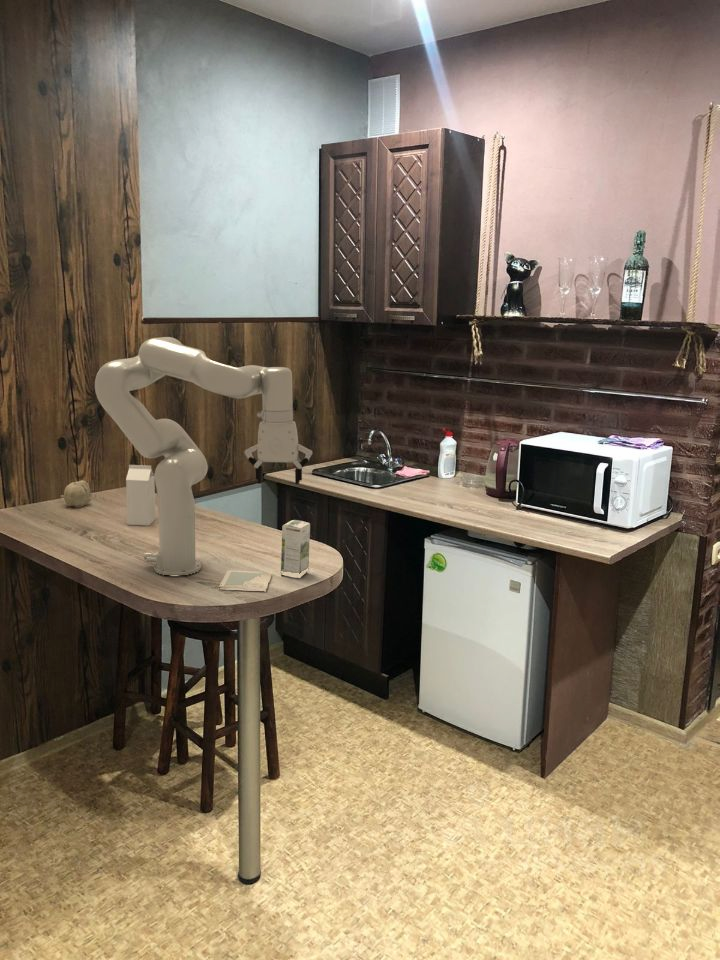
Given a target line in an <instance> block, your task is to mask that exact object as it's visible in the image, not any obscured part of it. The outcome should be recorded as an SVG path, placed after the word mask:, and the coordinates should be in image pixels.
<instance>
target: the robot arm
mask: <svg viewBox="0 0 720 960" xmlns="http://www.w3.org/2000/svg"><path fill="white" fill-rule="evenodd" d="M165 376H169V377H173V378H176V379H179V380H183V381H185V382H186V381H187V382H190V383H193V384H194V385H196V386H199V387H200V388H202V389H204V390H206V391H209V392H212V393H215V394H218V395H221V396H224V397H228V398H233V399H245V398H248V397H251V396H257V395H260V394H261V396H262V410H261V411H257V412H256V418H261V419H262V421H260V422H259V425H258V431H257V443H256V444H255V445H253V446H251V447H248V448H247V449H245V450H244V455H245V456H246V458H247V460H248V462H249V463H250V464H251V465H252V466H253V467H254V469H255V480H256V481H257V484H261V483H263V482H264V477H263V475H264V474H263V472H264V471H263V466H262V464H263V463H293V465H295V467H296V468H295V469H294V473H295V475H294V476H295V477H294V479H295V480H294V482H295V485H299V484H300V481H301V482H302V480H303V468H304V466H305V465H306V464H308V462H309V461H310V458H311V457H312V455H313V450H312V449H309V448H307V447H305V446H303V445H302V444H300V443H299V436H298V429H297V424H296V421H294V417H293V416H294V415H293V413H294V412H293V372H292V370H291V369H290V368H288V367H286V366H285V367H283V366H271V367H267V366H260V365H255V364H254V365H253V364H250V365H244V366H241V367H240V366H239V367H236V366H235V367H234V366H232V365H228V364H224V363H221V362H217V361H214V360H211V359H210V358H208V357H207V355H206V352H205V351H203V350H201V349H199V348H196V347H195V348H194V347H192V346H191V347H190V346H187V345H185V344H183V343H182V342H181V341H180V340H178V339H176V338H174V337H171V336H163V337H153V338H149V339H147V340H145V341H144V342H143V343H142V344H141V345H140V347H139V349H138V354H137V355H136V356H134V357H129V358H119V359H114V360H111V361H107V362H106V363H105V364H103V365H101V367H100V368H99V370H98V371H97V373H96V376H95V380H94V390H95V395H96V398H97V400H98V402H99V404H100V406H102V408H103V410H104V411H105V412H106V413H107V414H108V415H109V416H110V417H111V419H112V420H113V421H114V422H115V424H116V425H117V426H118V427H119V429H120V430H121V432H122V433H123V434H124V435H125V437H126V438H127V439H128V441H129V442H130V443H131V444H132V446H134V448H135V450H136V451H137V452H138V453H139V454H140V455H141V456H143V458H146V459H156V458H159V457H164V458H163V459H162V460H161V461H160V462H159V463H158V464H157V466H156V468H155V471H154V481H155V487H156V488H155V490H156V495H157V505H158V508H157V509H158V540H159V541H158V543H159V544H158V547H159V551H156V552H154V553H153V552H144V554H143V555H144V556H143V559H144V560H145V561H146V562H147V563H155V564H153V571H154V572H155V573H157V574H158V573H159V574H158V575H160V574H164V575H186V574H191V575H193V574H192V573H194V572H197V571H198V572H200V571H201V569H202V563H201V562H200V561H199V560H197V559H196V503H195V498H194V495H193V490H192V486H194V485H196V484H197V483H199V482H201V481H202V480H203V479H204V478H205V477H206V475H207V473H208V469H209V467H208V462H207V461H208V460H207V459H206V457H205V455H204V454H203V452H202V451H201V450H200V448H199V447H198V446H197V444H196V443H195V442H194V441H193V440H192V438H191V437H190V436H189V434H188V433H187V431H185V429H184V428H183V427H182V426H181V425H180V424H179V423H178V422H176V421H174V420H172V419H169V418H160V419H159V418H158V419H155V417H154V416H153V415H152V414H151V413H150V412H149V411H148V410H147V408H146V406H145V405H144V404H143V403H142V402H141V401H140V400H138V399H137V398H136V397H135V396H133V395H132V394H131V393H130V391H135V390H141V389H144V388H146V387H148V386H150V385H152V384H153V383H155V382H156V381H158V380H160V379H161V378H164V377H165ZM255 451H256V453H257V455H256V456H257V459H256V458H255V457H254V455H253V454H252V453H253V452H255ZM299 452H302V453H303V454H305V456H304V458H303V459H302V460H301V459H300V458H299V455H300V454H299ZM199 570H200V571H199ZM198 572H197V573H198ZM194 574H195V573H194ZM164 575H163V576H164Z"/></svg>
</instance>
